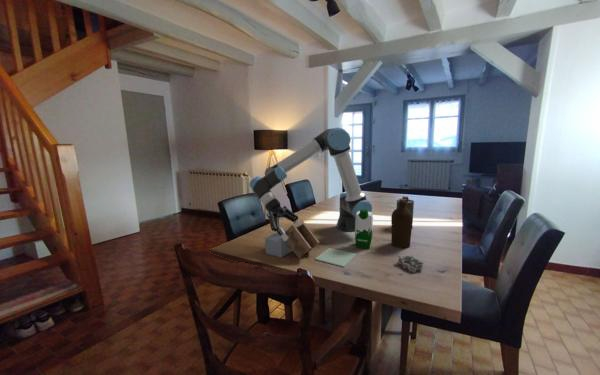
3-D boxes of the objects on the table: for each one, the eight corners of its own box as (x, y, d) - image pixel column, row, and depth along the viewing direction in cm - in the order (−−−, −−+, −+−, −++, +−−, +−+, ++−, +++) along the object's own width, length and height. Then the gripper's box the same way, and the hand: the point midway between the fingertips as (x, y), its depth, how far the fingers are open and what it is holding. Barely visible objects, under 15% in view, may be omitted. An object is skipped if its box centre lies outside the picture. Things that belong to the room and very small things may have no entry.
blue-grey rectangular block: (265, 253, 136) (264, 238, 135) (284, 242, 149) (283, 229, 148) (281, 257, 131) (280, 241, 129) (299, 246, 144) (299, 232, 142)
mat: (329, 248, 140) (329, 247, 140) (356, 255, 132) (356, 254, 132) (315, 259, 128) (315, 258, 128) (344, 267, 120) (344, 266, 119)
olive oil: (414, 248, 139) (417, 201, 134) (394, 248, 139) (396, 201, 134) (406, 240, 149) (409, 196, 145) (387, 241, 149) (389, 197, 145)
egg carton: (395, 263, 124) (395, 254, 123) (409, 260, 126) (409, 252, 125) (410, 273, 114) (410, 264, 113) (425, 271, 115) (426, 262, 115)
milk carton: (353, 247, 141) (354, 210, 137) (356, 241, 149) (356, 206, 146) (371, 249, 138) (372, 212, 134) (372, 243, 146) (373, 207, 143)
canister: (414, 230, 166) (416, 198, 162) (396, 229, 168) (398, 198, 165) (410, 225, 176) (412, 195, 173) (394, 224, 179) (395, 194, 175)
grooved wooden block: (282, 254, 135) (281, 222, 132) (292, 248, 142) (292, 218, 139) (310, 261, 126) (310, 228, 123) (319, 254, 133) (319, 223, 130)
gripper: (281, 202, 151) (304, 232, 145) (250, 212, 130) (275, 248, 125) (288, 193, 147) (312, 224, 142) (257, 203, 127) (284, 239, 121)
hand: (295, 235), depth 133 cm, fingers open, 13 cm apart
